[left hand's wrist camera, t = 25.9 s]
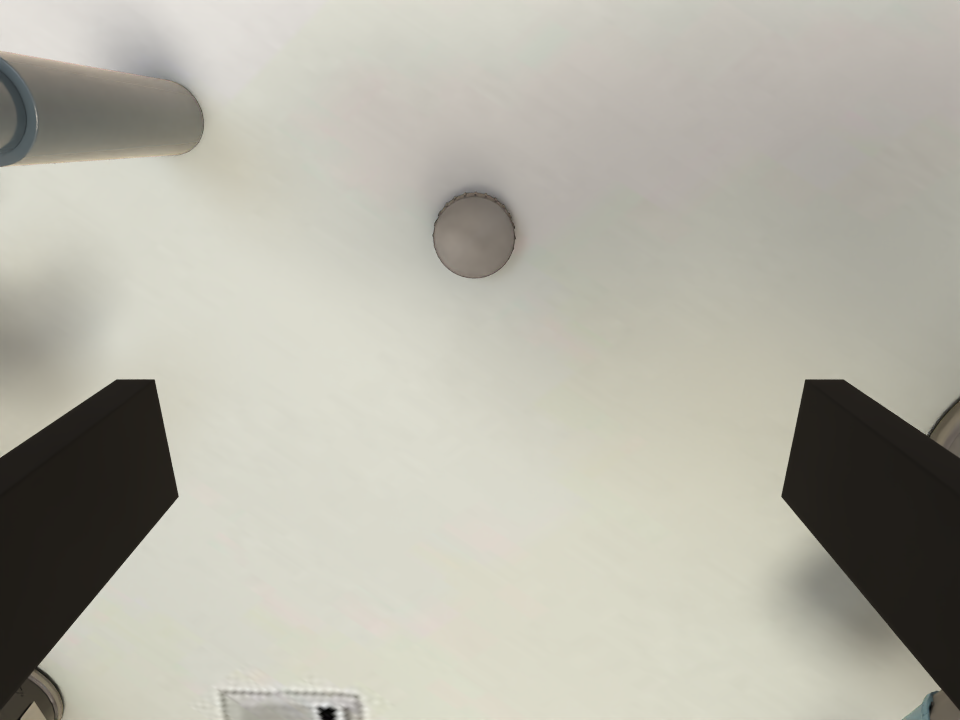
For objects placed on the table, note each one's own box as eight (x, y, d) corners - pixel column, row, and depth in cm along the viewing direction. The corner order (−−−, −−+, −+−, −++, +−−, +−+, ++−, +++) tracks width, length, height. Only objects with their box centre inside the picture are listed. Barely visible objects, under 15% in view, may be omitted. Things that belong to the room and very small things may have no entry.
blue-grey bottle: (127, 77, 34) (-153, 31, 19) (200, 81, 34) (-22, 40, 19) (138, 152, 36) (-116, 166, 21) (207, 157, 36) (6, 173, 21)
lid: (452, 282, 38) (450, 290, 36) (422, 208, 37) (419, 213, 35) (524, 255, 38) (527, 262, 36) (497, 179, 36) (499, 182, 34)
